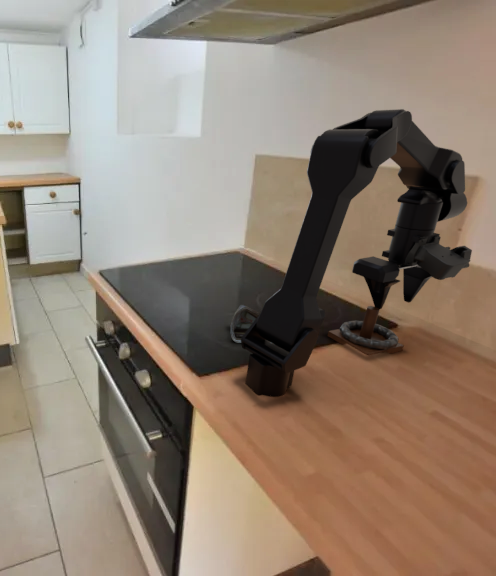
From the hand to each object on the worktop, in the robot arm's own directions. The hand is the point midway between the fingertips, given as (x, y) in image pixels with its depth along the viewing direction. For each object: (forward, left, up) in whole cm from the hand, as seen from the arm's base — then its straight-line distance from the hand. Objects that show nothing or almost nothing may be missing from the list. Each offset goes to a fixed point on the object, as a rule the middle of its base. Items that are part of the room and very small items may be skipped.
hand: (392, 305), depth 74 cm
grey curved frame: (-23, +10, -8) cm, 26 cm away
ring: (-5, 0, -6) cm, 7 cm away
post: (-5, 0, -8) cm, 9 cm away
